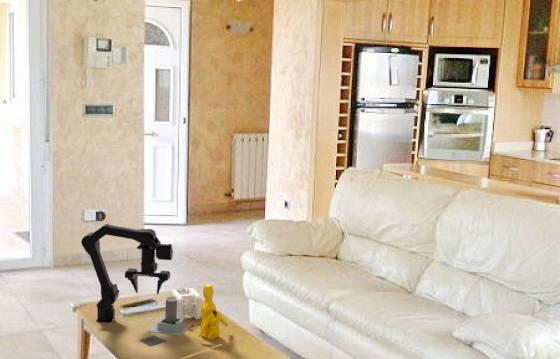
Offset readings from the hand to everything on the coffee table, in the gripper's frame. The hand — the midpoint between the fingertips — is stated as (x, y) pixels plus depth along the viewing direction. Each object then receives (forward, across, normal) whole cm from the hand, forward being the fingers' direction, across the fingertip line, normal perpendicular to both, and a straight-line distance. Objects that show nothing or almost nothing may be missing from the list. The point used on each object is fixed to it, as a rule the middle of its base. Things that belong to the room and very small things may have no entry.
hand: (147, 293), depth 295 cm
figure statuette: (+13, -30, +11) cm, 35 cm away
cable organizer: (+13, -15, -9) cm, 22 cm away
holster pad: (+13, -8, +21) cm, 26 cm away
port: (+13, -12, +6) cm, 19 cm away
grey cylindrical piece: (+12, -12, +6) cm, 18 cm away
